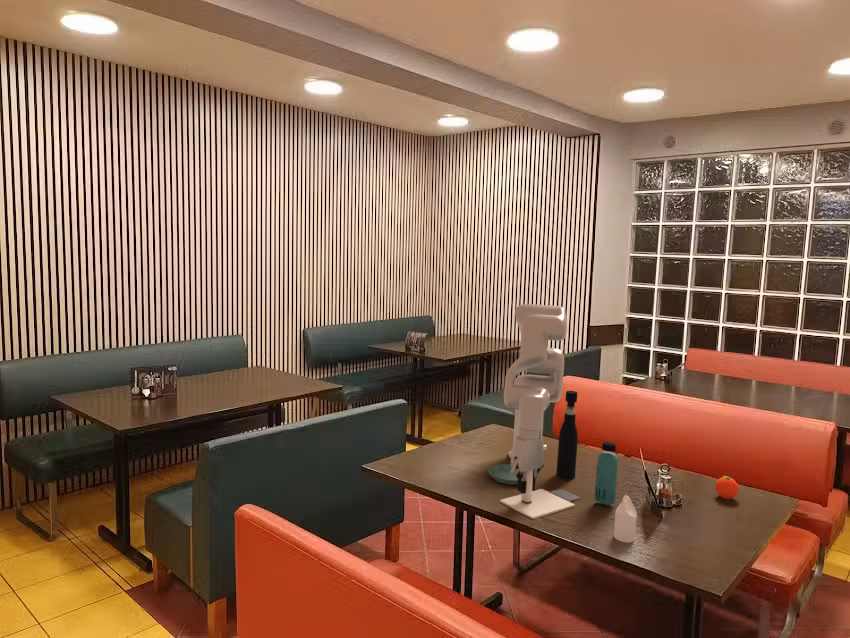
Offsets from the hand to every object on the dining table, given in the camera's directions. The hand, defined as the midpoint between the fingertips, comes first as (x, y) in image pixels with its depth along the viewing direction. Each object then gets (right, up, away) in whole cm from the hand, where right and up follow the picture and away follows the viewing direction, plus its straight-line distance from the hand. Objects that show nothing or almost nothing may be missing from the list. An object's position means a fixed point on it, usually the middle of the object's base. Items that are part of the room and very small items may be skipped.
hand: (526, 490), depth 187 cm
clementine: (+67, -6, +12) cm, 69 cm away
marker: (0, -3, 0) cm, 3 cm away
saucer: (-2, -2, +20) cm, 21 cm away
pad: (+4, -4, 0) cm, 6 cm away
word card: (+14, -4, +7) cm, 16 cm away
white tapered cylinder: (+24, -8, -20) cm, 32 cm away
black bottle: (+18, -2, +25) cm, 31 cm away
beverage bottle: (+25, -5, +2) cm, 25 cm away
